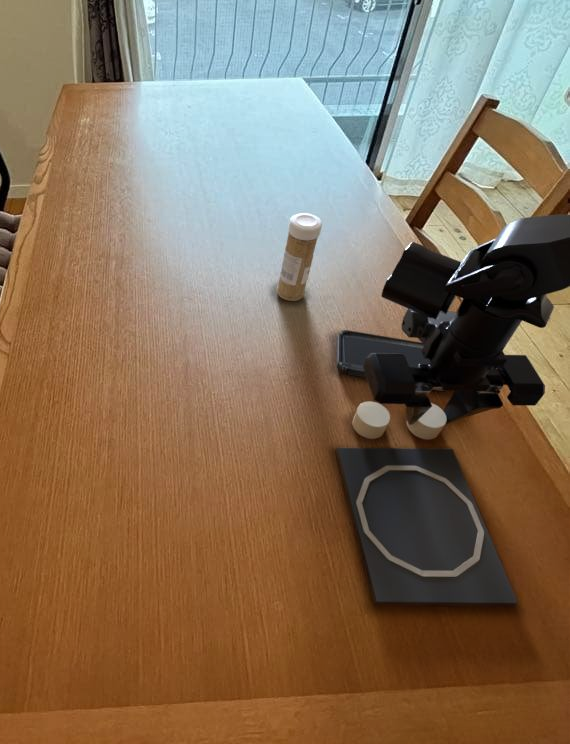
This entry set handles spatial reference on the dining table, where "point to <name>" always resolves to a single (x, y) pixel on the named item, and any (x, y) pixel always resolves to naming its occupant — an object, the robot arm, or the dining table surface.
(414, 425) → the white round puck
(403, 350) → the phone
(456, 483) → the slate
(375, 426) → the cream round box
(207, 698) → the dining table surface
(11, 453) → the dining table surface
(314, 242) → the sprinkles bottle
